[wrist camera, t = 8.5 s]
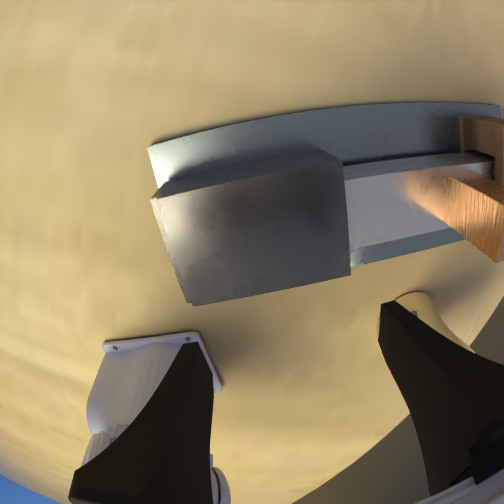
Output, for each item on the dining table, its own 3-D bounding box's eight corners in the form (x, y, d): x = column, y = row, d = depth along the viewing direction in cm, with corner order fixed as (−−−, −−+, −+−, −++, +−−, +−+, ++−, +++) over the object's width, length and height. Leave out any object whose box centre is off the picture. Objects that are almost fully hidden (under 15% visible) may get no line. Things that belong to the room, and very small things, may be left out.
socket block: (457, 230, 20) (491, 258, 16) (459, 116, 16) (502, 126, 12) (492, 221, 20) (526, 245, 16) (496, 117, 16) (538, 128, 12)
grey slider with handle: (301, 236, 19) (337, 318, 12) (292, 175, 17) (331, 229, 10) (489, 199, 18) (559, 244, 11) (492, 150, 17) (569, 183, 9)
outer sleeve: (196, 291, 22) (189, 337, 18) (150, 145, 17) (122, 160, 13) (489, 227, 21) (524, 253, 17) (493, 104, 16) (536, 113, 12)
